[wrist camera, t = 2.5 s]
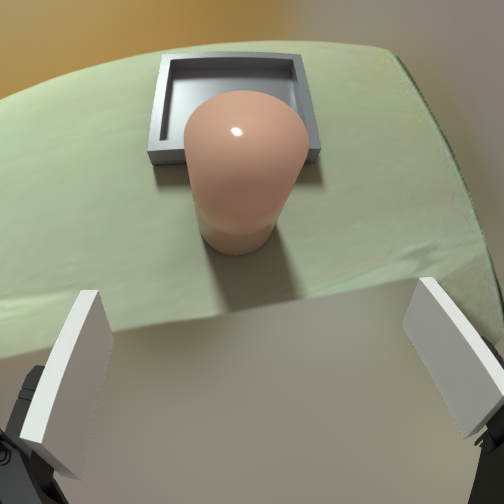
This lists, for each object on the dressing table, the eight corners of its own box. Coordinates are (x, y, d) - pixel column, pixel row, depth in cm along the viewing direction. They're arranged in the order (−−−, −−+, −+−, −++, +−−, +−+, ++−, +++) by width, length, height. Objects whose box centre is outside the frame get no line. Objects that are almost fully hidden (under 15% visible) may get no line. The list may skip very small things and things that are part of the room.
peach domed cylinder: (182, 220, 27) (157, 137, 15) (233, 171, 28) (243, 75, 17) (238, 271, 26) (251, 217, 14) (288, 217, 27) (332, 138, 16)
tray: (152, 165, 28) (146, 150, 25) (165, 70, 31) (162, 54, 28) (313, 162, 29) (321, 148, 27) (296, 69, 32) (300, 54, 30)
